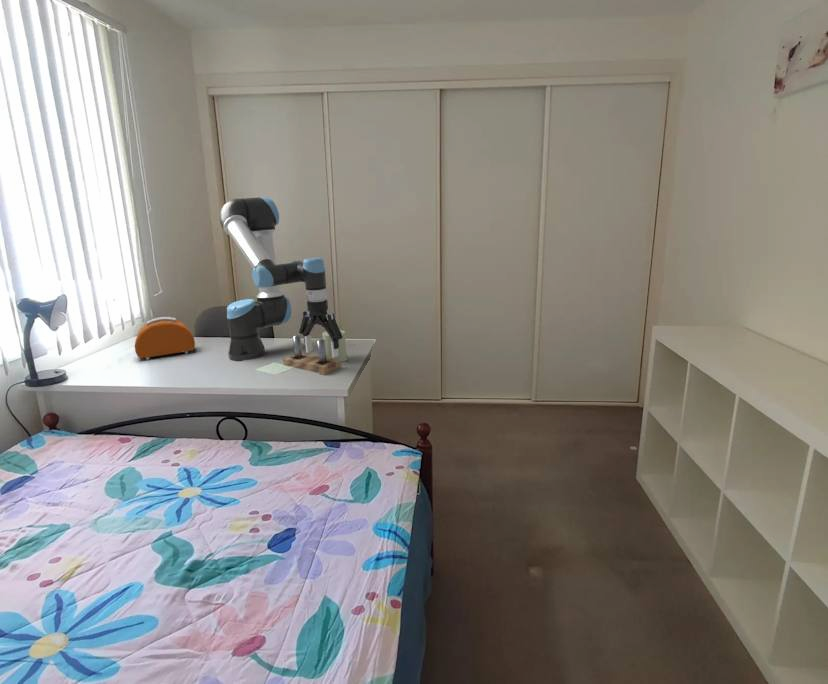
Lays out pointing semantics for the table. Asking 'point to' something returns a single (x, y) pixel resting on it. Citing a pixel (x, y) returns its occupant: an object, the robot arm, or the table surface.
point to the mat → (274, 368)
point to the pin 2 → (321, 351)
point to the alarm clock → (163, 338)
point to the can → (341, 348)
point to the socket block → (312, 364)
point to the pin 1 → (297, 347)
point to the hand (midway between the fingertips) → (322, 354)
